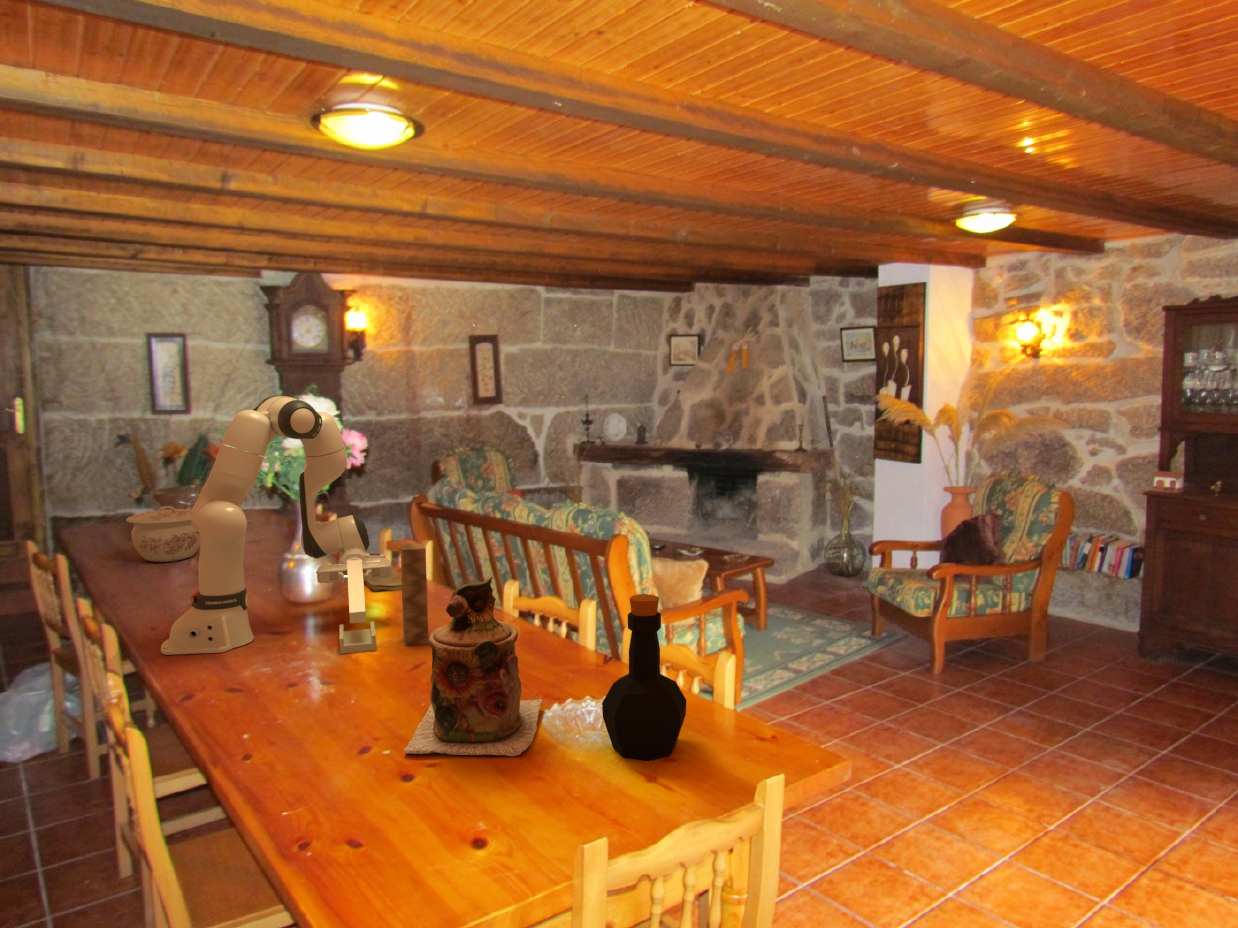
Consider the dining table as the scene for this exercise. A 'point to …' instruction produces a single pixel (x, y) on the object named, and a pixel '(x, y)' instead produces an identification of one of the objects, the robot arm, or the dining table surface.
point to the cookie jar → (475, 683)
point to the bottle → (644, 692)
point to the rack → (357, 640)
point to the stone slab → (385, 583)
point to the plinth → (414, 594)
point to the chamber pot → (164, 534)
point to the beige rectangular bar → (356, 591)
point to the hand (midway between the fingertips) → (355, 578)
